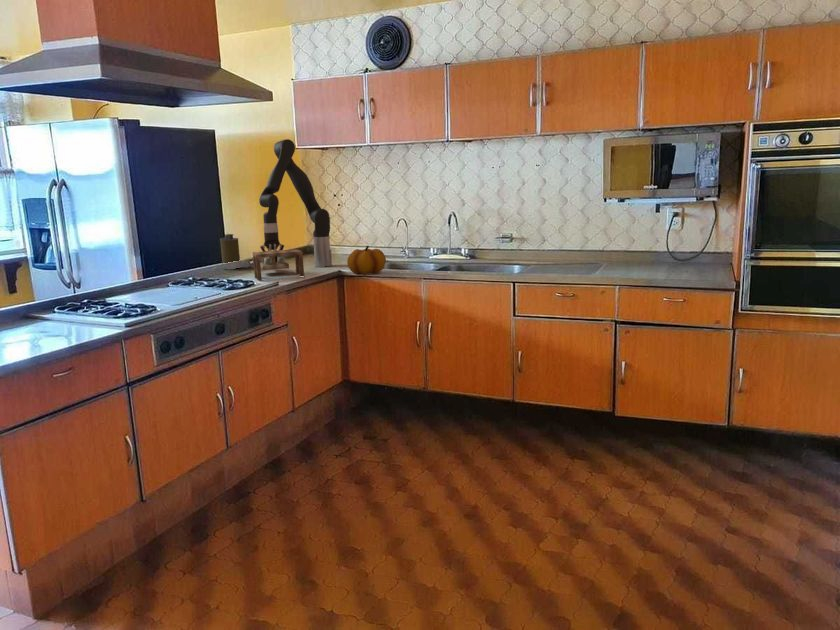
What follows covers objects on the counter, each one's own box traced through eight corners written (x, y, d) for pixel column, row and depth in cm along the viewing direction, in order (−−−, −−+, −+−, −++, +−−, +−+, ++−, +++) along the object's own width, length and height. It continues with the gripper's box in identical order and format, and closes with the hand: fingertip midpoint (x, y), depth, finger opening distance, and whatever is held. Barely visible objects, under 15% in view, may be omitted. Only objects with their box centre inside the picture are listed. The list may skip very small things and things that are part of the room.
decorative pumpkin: (387, 269, 364) (386, 242, 361) (384, 276, 342) (383, 247, 339) (350, 270, 364) (349, 243, 361) (345, 277, 343) (344, 248, 340)
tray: (282, 262, 379) (281, 249, 377) (289, 268, 358) (288, 253, 356) (257, 264, 374) (256, 250, 372) (262, 270, 353) (261, 255, 351)
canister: (244, 267, 389) (241, 233, 385) (234, 270, 379) (231, 235, 375) (228, 267, 393) (225, 233, 388) (218, 269, 383) (214, 235, 379)
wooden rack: (299, 273, 358) (298, 249, 355) (304, 276, 347) (302, 251, 344) (254, 277, 349) (252, 252, 347) (257, 280, 338) (255, 254, 336)
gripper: (282, 230, 365) (284, 261, 368) (257, 231, 360) (259, 263, 364) (284, 231, 358) (286, 263, 361) (259, 232, 353) (261, 264, 357)
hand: (273, 262), depth 363 cm, fingers closed on tray
